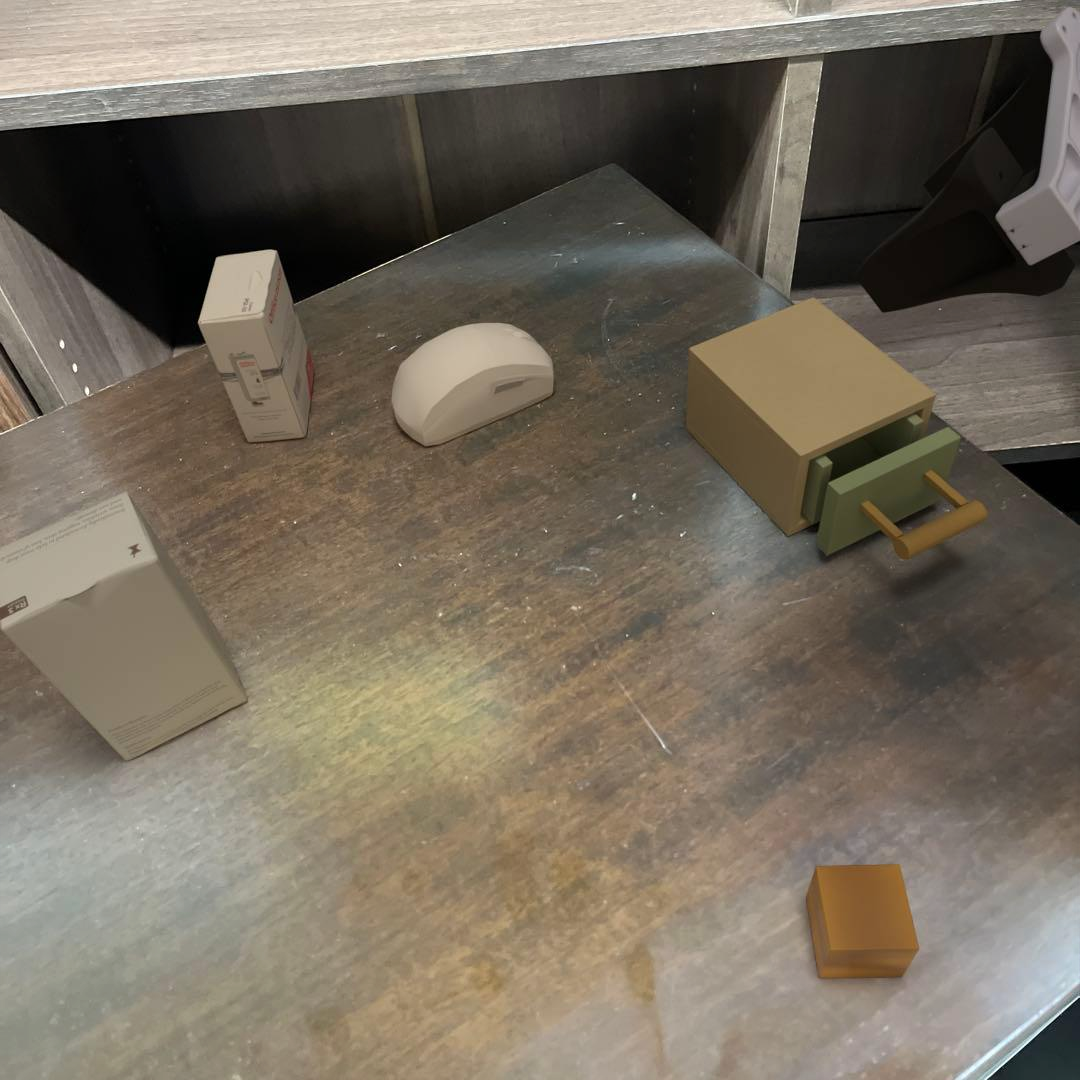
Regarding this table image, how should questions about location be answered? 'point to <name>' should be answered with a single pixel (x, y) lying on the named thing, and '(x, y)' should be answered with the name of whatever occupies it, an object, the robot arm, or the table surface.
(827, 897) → the block
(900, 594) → the table surface
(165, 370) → the table surface
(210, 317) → the ink box
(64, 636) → the cosmetic box
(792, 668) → the table surface
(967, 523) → the drawer
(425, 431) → the computer mouse
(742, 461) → the cabinet
